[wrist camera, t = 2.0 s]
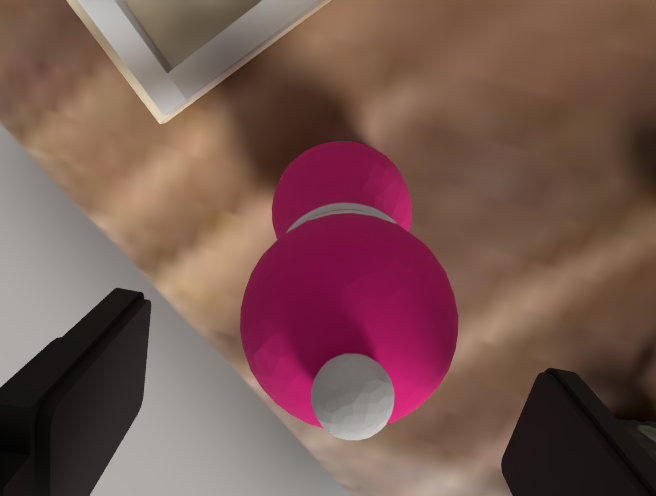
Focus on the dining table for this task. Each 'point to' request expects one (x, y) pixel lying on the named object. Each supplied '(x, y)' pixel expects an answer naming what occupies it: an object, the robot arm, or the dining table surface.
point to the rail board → (186, 41)
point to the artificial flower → (642, 434)
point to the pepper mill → (347, 297)
